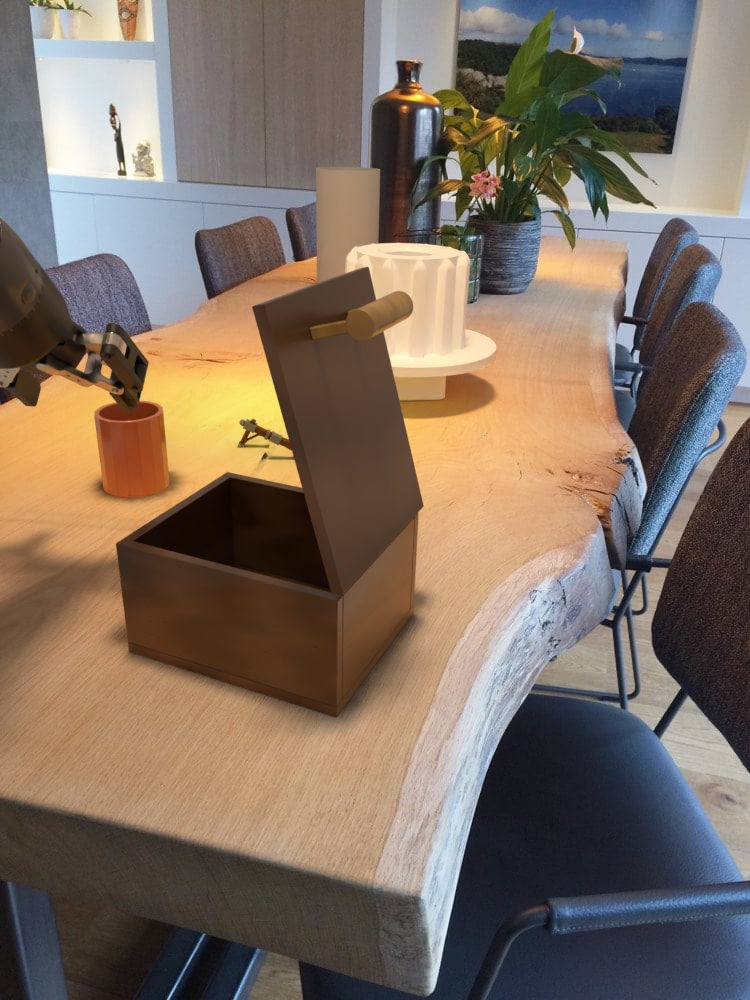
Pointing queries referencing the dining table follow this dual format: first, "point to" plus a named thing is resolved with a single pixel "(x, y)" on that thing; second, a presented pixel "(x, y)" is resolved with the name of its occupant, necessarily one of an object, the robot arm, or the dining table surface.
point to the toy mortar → (267, 434)
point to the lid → (343, 415)
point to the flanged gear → (425, 315)
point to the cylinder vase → (344, 215)
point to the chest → (260, 595)
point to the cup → (132, 449)
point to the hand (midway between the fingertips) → (83, 399)
